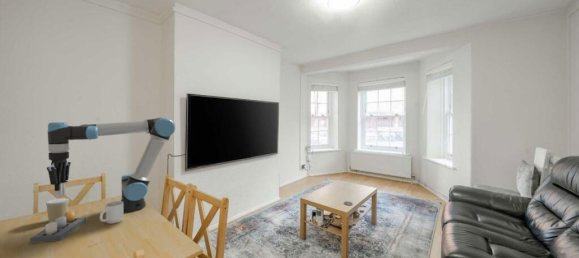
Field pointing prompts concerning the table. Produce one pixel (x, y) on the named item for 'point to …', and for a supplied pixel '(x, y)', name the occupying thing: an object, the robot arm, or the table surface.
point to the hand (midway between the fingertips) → (60, 195)
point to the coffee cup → (57, 208)
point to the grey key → (61, 222)
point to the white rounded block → (51, 228)
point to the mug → (113, 212)
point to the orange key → (70, 216)
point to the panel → (59, 231)
